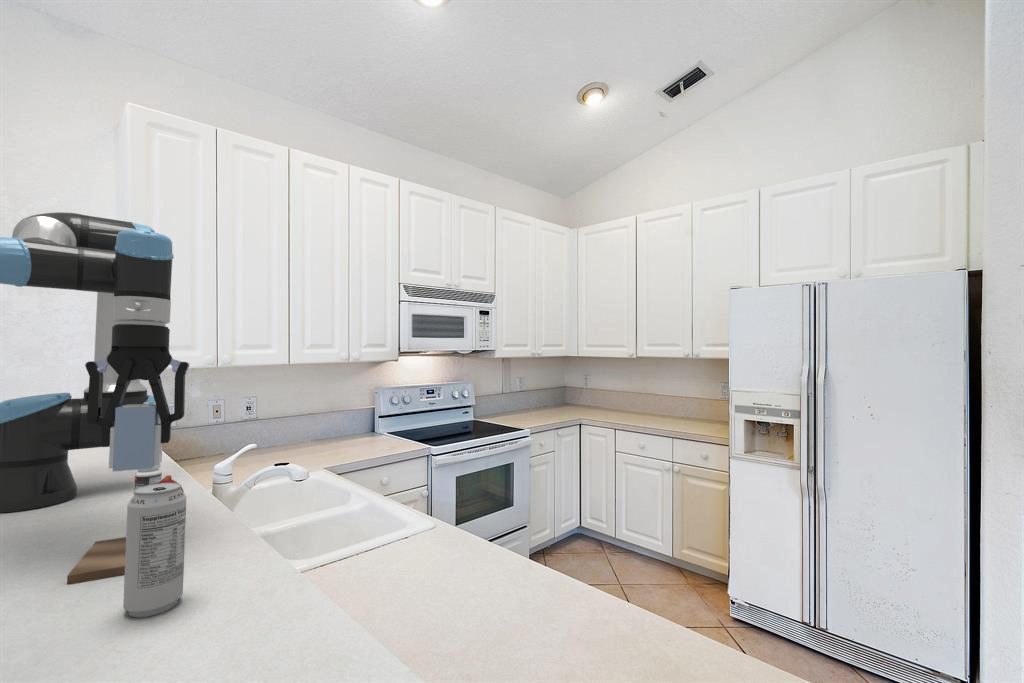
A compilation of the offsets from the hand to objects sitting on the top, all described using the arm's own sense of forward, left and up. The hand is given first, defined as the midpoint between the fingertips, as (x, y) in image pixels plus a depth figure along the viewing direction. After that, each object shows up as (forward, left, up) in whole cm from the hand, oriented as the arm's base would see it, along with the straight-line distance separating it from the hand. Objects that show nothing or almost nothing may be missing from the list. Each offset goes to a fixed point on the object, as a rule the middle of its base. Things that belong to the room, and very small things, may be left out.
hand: (136, 464), depth 77 cm
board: (+3, 0, -14) cm, 14 cm away
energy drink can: (+23, +6, -14) cm, 28 cm away
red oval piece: (-19, +2, -14) cm, 24 cm away
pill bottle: (-33, -3, -14) cm, 36 cm away
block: (0, 0, 0) cm, 0 cm away
